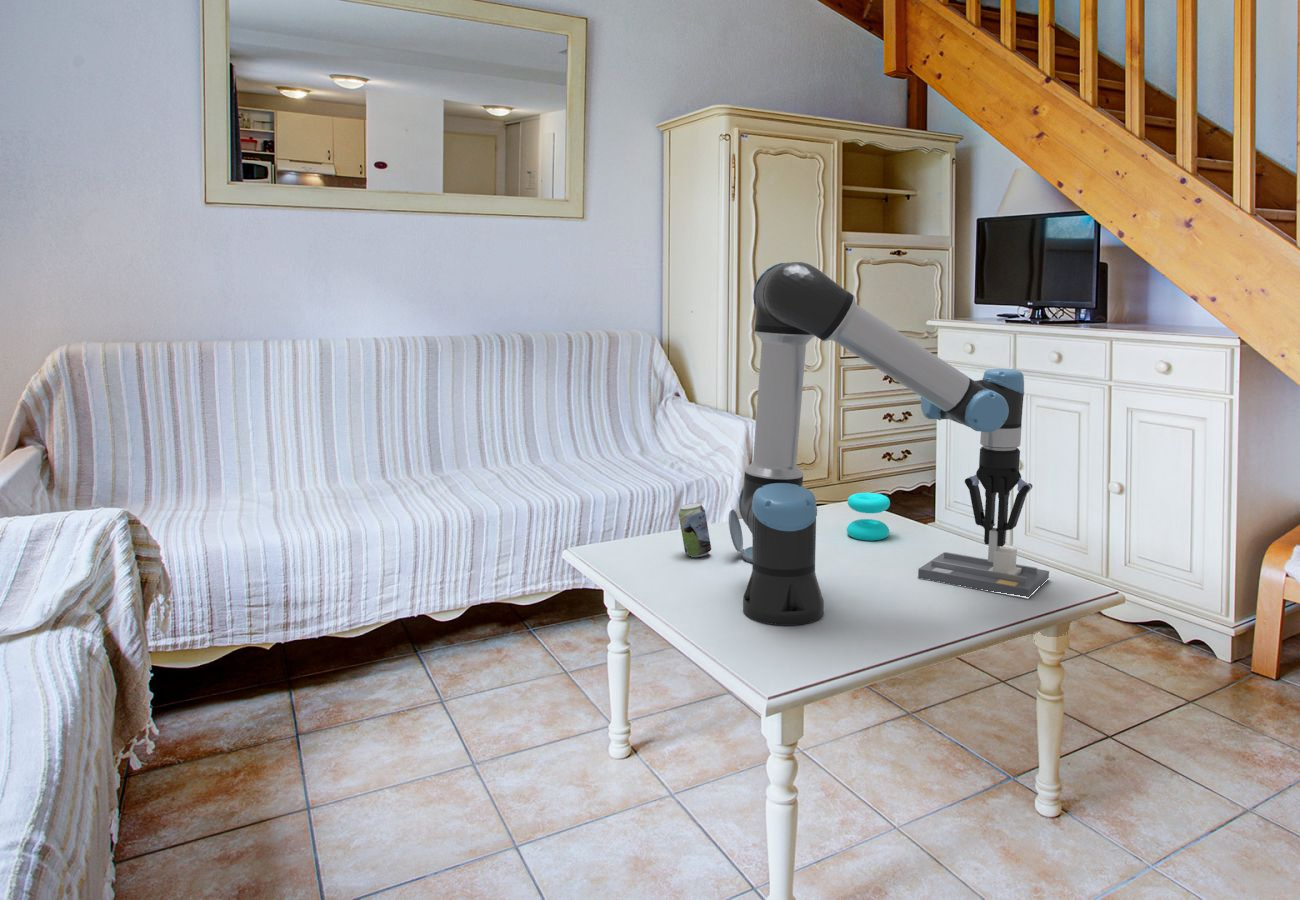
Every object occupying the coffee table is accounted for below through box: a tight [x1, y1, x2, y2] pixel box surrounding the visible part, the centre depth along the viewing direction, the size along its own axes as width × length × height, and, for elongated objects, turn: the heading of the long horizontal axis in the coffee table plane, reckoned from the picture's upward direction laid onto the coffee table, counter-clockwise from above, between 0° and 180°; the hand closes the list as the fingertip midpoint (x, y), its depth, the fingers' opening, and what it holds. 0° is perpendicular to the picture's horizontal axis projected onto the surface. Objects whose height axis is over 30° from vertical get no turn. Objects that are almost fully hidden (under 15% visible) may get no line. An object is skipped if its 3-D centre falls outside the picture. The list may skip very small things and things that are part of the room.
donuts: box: [846, 492, 891, 542], centre depth 217 cm, size 10×10×10 cm
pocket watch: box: [728, 509, 753, 564], centre depth 201 cm, size 10×11×15 cm
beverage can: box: [678, 502, 712, 558], centre depth 204 cm, size 6×7×12 cm
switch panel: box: [917, 551, 1050, 597], centre depth 185 cm, size 14×22×3 cm, turn 51°
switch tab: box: [989, 546, 1022, 575], centre depth 182 cm, size 6×5×5 cm
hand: (993, 560), depth 184 cm, fingers closed
